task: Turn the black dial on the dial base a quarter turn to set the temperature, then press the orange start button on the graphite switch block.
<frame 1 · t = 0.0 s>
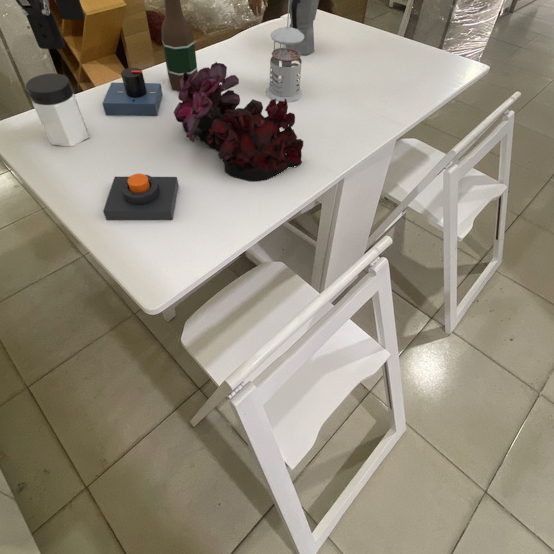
hand: (63, 32, 55), 29 cm above the table, tool pointing down, fingers open, 9 cm apart
dial base: (135, 104, 98), on the table
flower arrangement: (232, 146, 89), on the table
switch block: (144, 202, 77), on the table
temp dial: (133, 82, 94), point 6 cm above the table, hinge at 0.0°
coffeepot: (298, 51, 121), on the table
french press: (283, 91, 106), on the table
start button: (138, 183, 73), point 4 cm above the table, slide at 0.1 cm
jar: (69, 137, 89), on the table
beer bottle: (184, 86, 105), on the table
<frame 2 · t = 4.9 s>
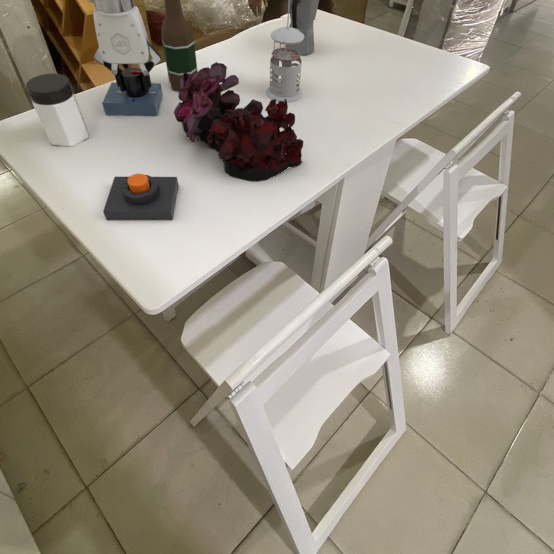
hand: (135, 88, 95), 4 cm above the table, tool pointing down, fingers closed on temp dial, 4 cm apart
temp dial: (133, 82, 94), point 6 cm above the table, hinge at -0.1°, touching gripper
everything else where it was.
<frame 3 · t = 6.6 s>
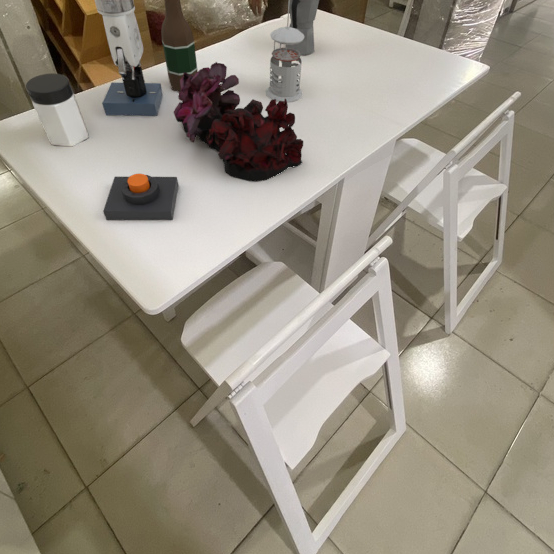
hand: (135, 88, 95), 4 cm above the table, tool pointing down, fingers closed on temp dial, 4 cm apart
temp dial: (133, 82, 94), point 6 cm above the table, hinge at 89.8°, touching gripper
everything else where it was.
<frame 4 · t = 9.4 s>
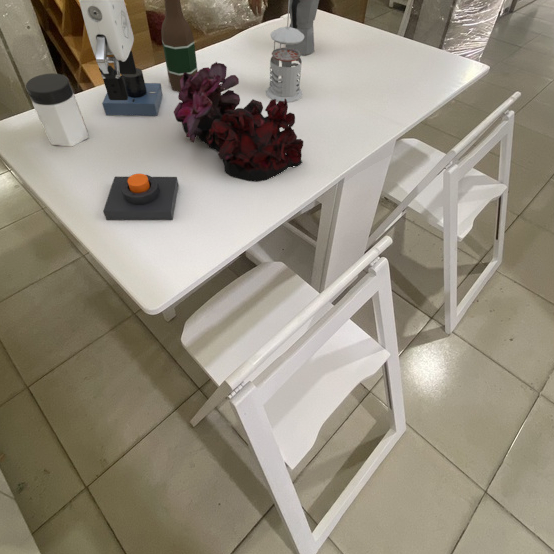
hand: (123, 85, 73), 15 cm above the table, tool pointing down, fingers open, 9 cm apart
temp dial: (133, 82, 94), point 6 cm above the table, hinge at 91.4°
everything else where it was.
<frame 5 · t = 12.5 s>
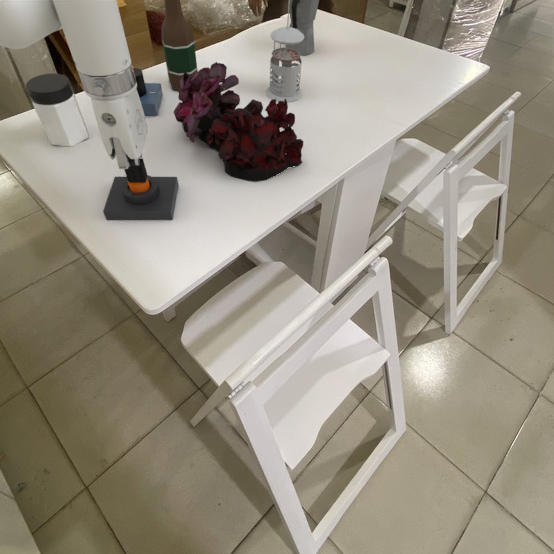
hand: (138, 179, 72), 5 cm above the table, tool pointing down, fingers closed
start button: (138, 183, 73), point 4 cm above the table, slide at 0.1 cm, touching gripper
everything else where it was.
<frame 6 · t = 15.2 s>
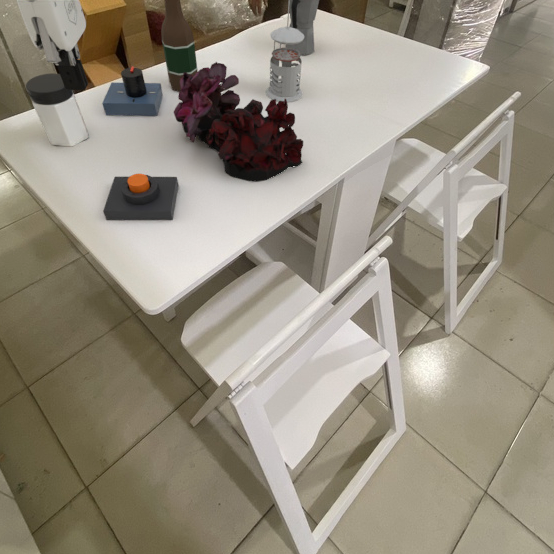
hand: (77, 87, 64), 20 cm above the table, tool pointing down, fingers closed
start button: (138, 183, 73), point 4 cm above the table, slide at 0.1 cm
everything else where it was.
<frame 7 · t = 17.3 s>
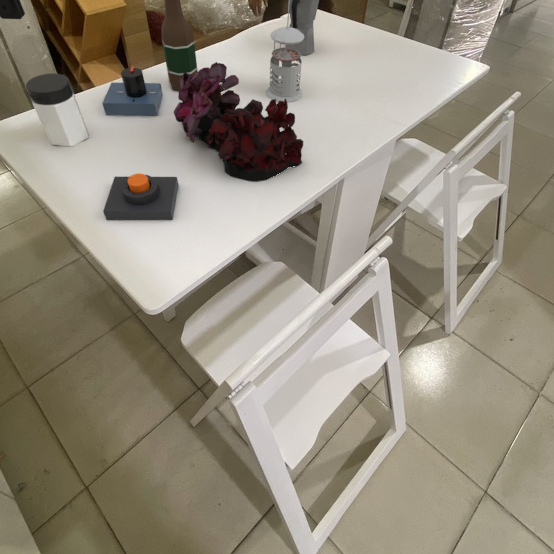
hand: (13, 16, 62), 27 cm above the table, tool pointing down, fingers closed
nothing on the table moved.
at the end: temp dial at +91° (first picture: +0°); start button pushed in 1.1 cm at the most during the clip, back to where it started at the end; start button slide at 0.1 cm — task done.
